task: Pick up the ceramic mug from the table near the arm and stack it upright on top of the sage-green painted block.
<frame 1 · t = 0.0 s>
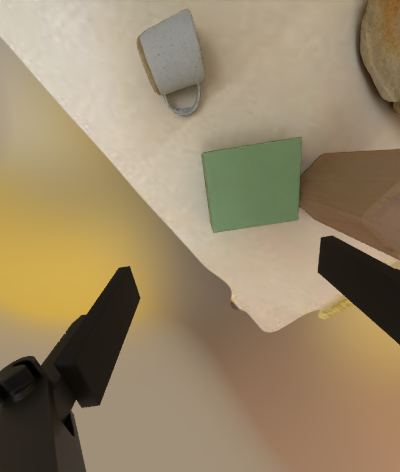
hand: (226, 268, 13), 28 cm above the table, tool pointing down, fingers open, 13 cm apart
wooden block: (317, 188, 40), on the table
ceramic mug: (179, 79, 32), on the table
green block: (245, 184, 39), on the table
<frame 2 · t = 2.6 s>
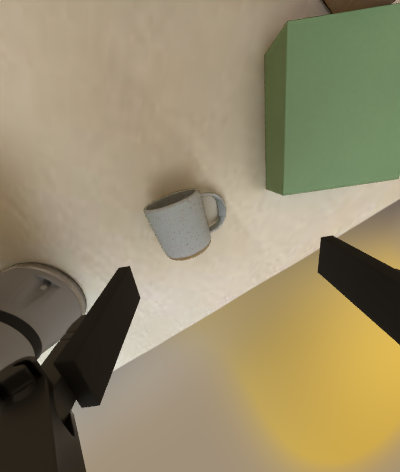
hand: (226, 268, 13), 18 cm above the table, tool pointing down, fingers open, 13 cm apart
ceramic mug: (189, 212, 30), on the table
green block: (316, 121, 26), on the table
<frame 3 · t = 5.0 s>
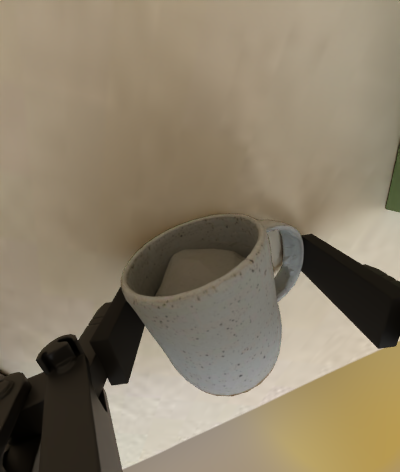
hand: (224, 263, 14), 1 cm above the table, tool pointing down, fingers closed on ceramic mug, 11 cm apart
ceramic mug: (222, 257, 15), on the table, touching gripper
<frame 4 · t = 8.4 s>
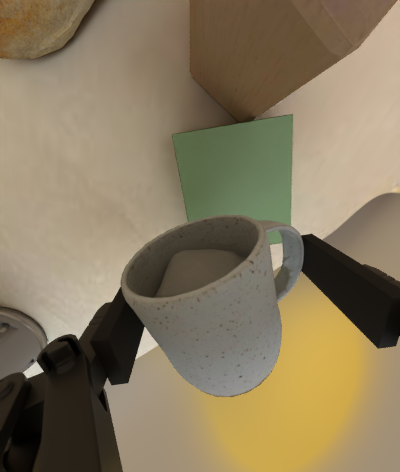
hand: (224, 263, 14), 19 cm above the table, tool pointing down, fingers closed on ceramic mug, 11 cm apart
wooden block: (240, 68, 25), on the table
ceramic mug: (222, 257, 15), point 17 cm above the table, touching gripper
green block: (229, 188, 30), on the table
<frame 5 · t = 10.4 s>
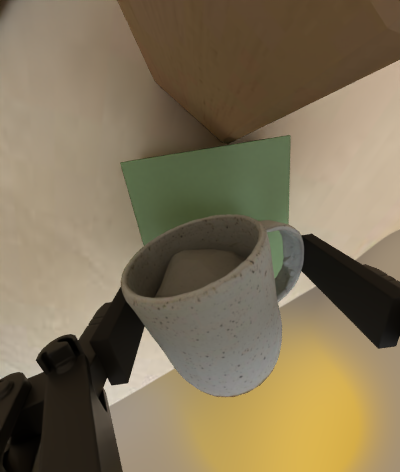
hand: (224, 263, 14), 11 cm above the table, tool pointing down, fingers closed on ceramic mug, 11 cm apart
wooden block: (221, 69, 18), on the table
ceramic mug: (222, 257, 15), point 10 cm above the table, touching gripper
green block: (210, 220, 24), on the table
when the fingers open (7 cm above the table, at t = 12.1 s): ceramic mug stays where it is, resting on green block.
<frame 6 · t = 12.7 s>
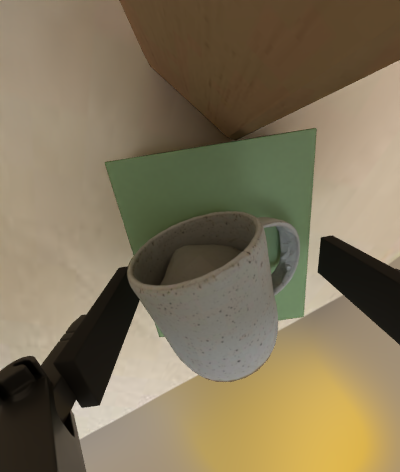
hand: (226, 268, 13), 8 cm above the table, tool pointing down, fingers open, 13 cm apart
wooden block: (228, 50, 15), on the table
ceramic mug: (222, 253, 15), point 6 cm above the table, touching green block
green block: (214, 229, 21), on the table, touching ceramic mug
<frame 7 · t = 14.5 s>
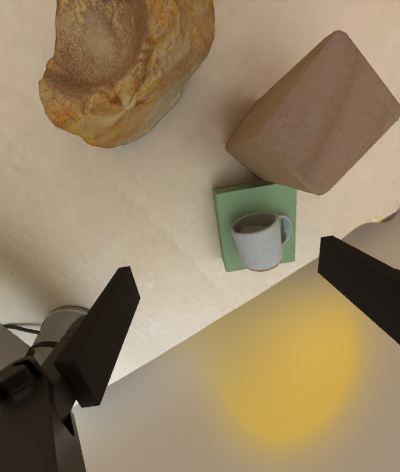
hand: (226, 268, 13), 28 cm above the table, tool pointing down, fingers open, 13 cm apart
wooden block: (259, 142, 36), on the table
ceramic mug: (258, 230, 36), point 6 cm above the table, touching green block
rough brown rock: (134, 71, 31), on the table
green block: (249, 220, 41), on the table, touching ceramic mug
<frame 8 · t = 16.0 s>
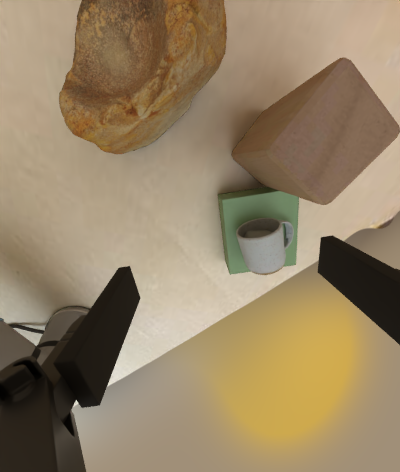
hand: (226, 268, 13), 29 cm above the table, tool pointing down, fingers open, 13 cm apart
wooden block: (264, 150, 37), on the table
ceramic mug: (261, 234, 37), point 6 cm above the table, touching green block
rough brown rock: (145, 80, 32), on the table
green block: (252, 225, 43), on the table, touching ceramic mug
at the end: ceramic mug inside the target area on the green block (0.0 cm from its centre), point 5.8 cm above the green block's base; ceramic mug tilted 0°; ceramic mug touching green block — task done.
